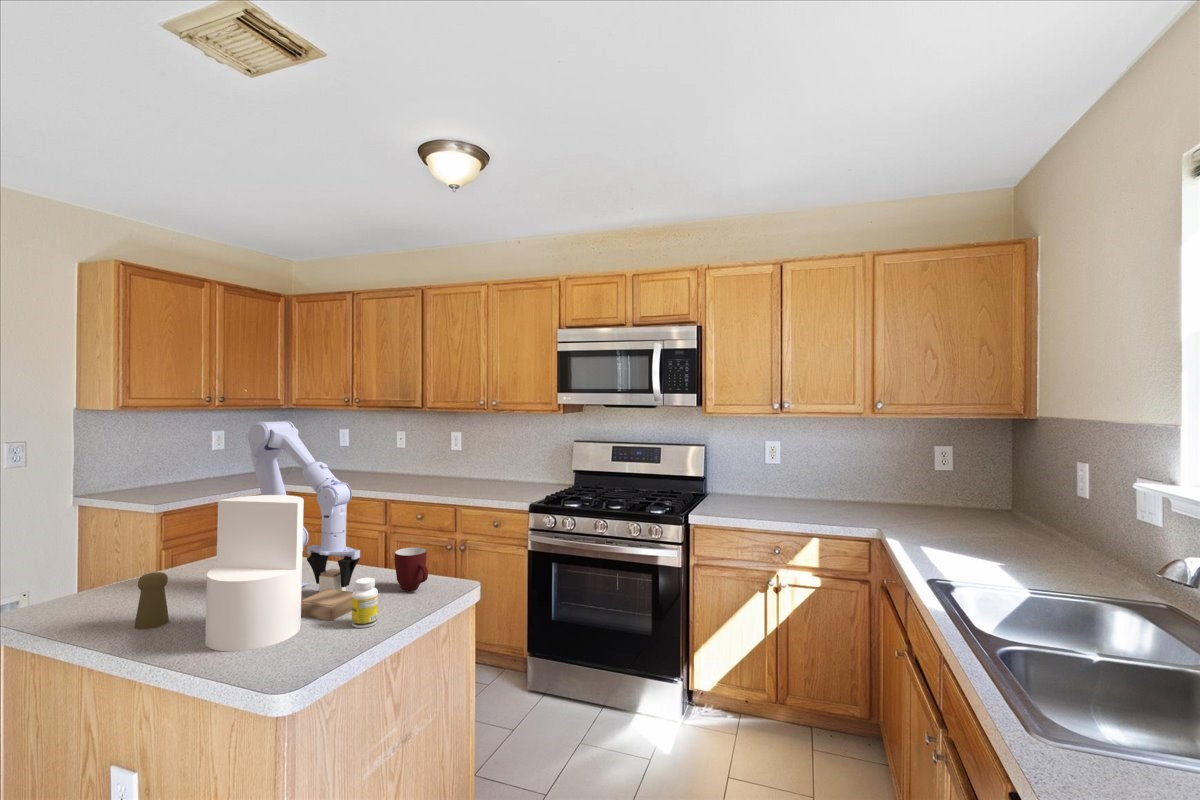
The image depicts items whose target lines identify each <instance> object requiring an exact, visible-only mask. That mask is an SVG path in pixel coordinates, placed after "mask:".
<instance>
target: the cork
mask: <svg viewBox="0 0 1200 800" xmlns="http://www.w3.org/2000/svg"><path fill="white" fill-rule="evenodd" d="M168 582H169V578H168V575H167V574H166V573H165V572H160V571H156V572H149V573H145V574H143V575H141V576H140V577H139V578H138V581H137V588H138V590H140V594H139V599H138V605H137V610H136V616H135V621H134V629H135V630H149V629H156V628H159V627H162V626H165V625H167V624H168V623H169V622H170V617H169V610H168V603H167V598H166V597H167V596H166V595H167V594H166V590H165V587H166V586H167V584H168Z"/></svg>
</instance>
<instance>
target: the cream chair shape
mask: <svg viewBox="0 0 1200 800" xmlns="http://www.w3.org/2000/svg"><path fill="white" fill-rule="evenodd" d="M304 503H305V502H304V498H303V497H301V496H296V495H287V494H286V495H262V494H259V495H258V494H257V495H246V496H238V497H231V498H225V499H219V500H217V526H216V527H217V530H216V531H217V532H216V533H217V536H216V567H213V568H212V569H210V570H209V571H208V572H207V573H206V596H205V597H206V601H205V604H206V606H205V640H204V641H205V646H206V647H207V648H208V649H211V650H214V651H216V652H217V651H219V652H220V651H221V652H243V651H252V650H257V649H263V648H266V647H270V646H273V645H277V644H279V643H283V642H284V641H287V640H289V639H290V638H292V637H294V636H295V635H296V634H298V632H300V629H301V626H302V625H301V623H302V616H301V600H302V589H303V588H302V582H303V579H302V578H303V551H304V547H303V526H304ZM302 550H303V551H302Z"/></svg>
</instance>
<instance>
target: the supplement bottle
mask: <svg viewBox="0 0 1200 800" xmlns="http://www.w3.org/2000/svg"><path fill="white" fill-rule="evenodd" d="M375 585H376V579H375V578H374V577H362V578H358V579H356V581H355V590H353V591H352V592H353V594H352V611H351V626H352V627H353V628H356V629H367V628H370V627H373V626H375V625H377V623H378V620H379V617H378V615H379V609H378V608H379V591H378V589H377V588H376V587H375Z"/></svg>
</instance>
